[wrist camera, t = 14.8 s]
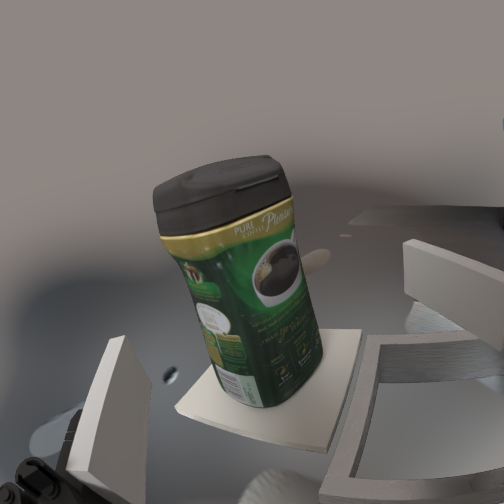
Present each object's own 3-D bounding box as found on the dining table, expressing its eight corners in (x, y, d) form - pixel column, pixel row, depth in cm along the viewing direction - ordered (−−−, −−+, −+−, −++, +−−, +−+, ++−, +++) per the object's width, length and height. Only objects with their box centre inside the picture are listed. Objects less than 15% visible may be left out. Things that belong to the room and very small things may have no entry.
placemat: (247, 331, 33) (244, 324, 33) (362, 336, 26) (362, 329, 26) (178, 413, 22) (174, 406, 22) (327, 453, 15) (326, 447, 14)
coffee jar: (273, 334, 30) (227, 162, 24) (336, 352, 24) (299, 142, 18) (207, 388, 23) (129, 189, 18) (271, 425, 18) (186, 164, 12)
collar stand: (367, 373, 21) (367, 334, 20) (517, 361, 13) (531, 321, 12) (322, 511, 10) (317, 492, 9) (535, 490, 3) (572, 458, 1)
